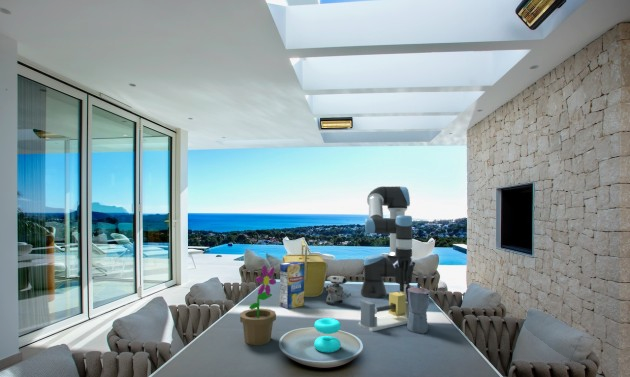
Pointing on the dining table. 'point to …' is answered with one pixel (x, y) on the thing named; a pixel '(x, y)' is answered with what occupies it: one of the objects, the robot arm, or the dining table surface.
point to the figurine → (335, 289)
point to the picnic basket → (310, 271)
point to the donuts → (327, 342)
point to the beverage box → (291, 285)
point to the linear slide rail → (380, 323)
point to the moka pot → (417, 308)
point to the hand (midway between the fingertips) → (403, 298)
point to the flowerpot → (259, 314)
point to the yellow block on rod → (397, 304)
